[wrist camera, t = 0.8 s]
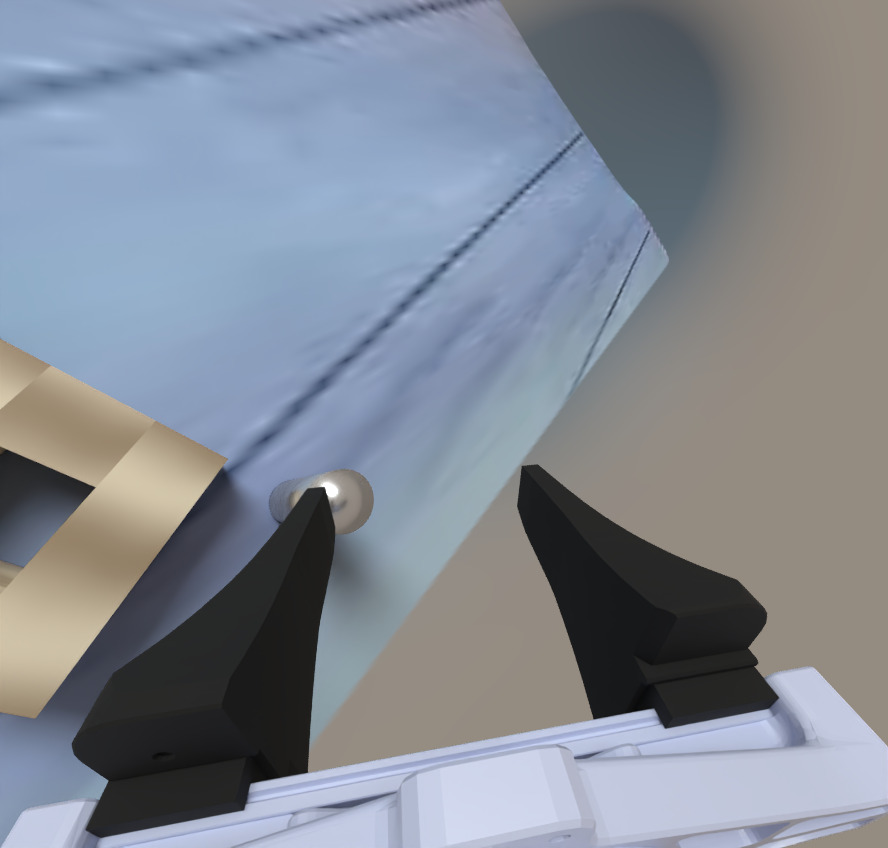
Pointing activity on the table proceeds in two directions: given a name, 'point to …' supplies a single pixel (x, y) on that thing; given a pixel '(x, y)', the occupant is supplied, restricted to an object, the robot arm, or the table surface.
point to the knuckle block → (84, 518)
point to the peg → (329, 497)
